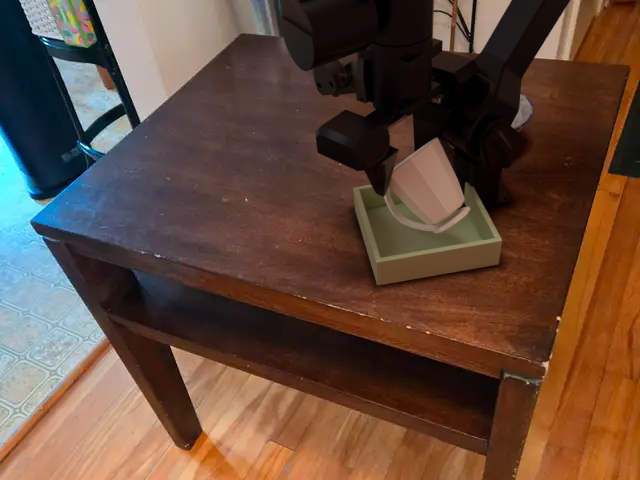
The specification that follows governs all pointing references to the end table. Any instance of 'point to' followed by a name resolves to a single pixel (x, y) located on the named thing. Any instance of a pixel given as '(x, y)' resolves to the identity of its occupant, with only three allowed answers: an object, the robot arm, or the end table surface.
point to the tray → (424, 239)
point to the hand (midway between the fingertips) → (401, 178)
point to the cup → (427, 189)
